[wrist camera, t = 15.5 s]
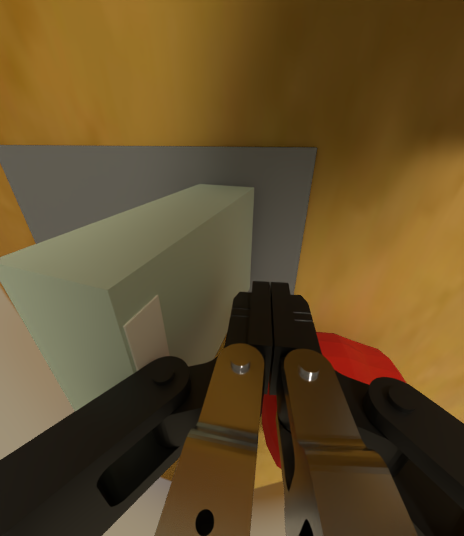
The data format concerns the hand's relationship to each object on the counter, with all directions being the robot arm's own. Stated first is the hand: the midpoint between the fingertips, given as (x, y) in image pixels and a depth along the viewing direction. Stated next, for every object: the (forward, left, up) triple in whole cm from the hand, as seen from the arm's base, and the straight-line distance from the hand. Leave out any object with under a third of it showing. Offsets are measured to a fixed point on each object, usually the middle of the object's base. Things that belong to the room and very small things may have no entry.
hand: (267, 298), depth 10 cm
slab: (0, -3, -6) cm, 7 cm away
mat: (0, -8, -7) cm, 10 cm away
